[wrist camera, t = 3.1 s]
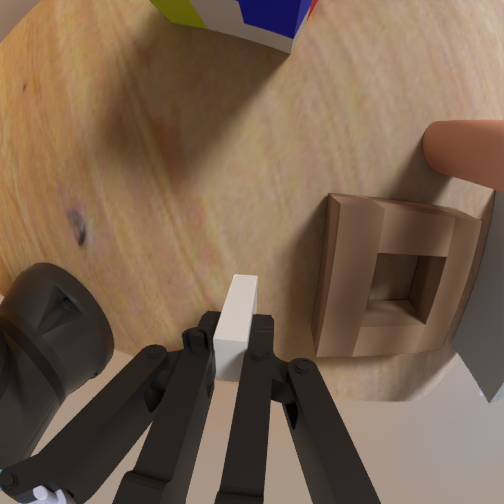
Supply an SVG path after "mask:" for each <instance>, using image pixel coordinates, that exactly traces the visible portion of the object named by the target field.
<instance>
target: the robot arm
mask: <svg viewBox="0 0 504 504" xmlns="http://www.w3.org/2000/svg"><path fill="white" fill-rule="evenodd" d="M257 280H258V276H253V275H237V274H234V277H233V280H232V283H231V286H230V289H229V292H228V295H227V298H226V301H225V304H224V307H223V310H222V312H215V311H207V312H206V313H205V314H204V315H202V318H201V320H200V322H199V325H198V327H194V328H190V329H187V330H185V331H184V332H183V334H182V338H183V344H184V349H183V350H180V351H173V352H167V350H166V348H165V347H163V346H161V345H157V344H155V345H149V346H146V347H145V348H143V349H142V350H141V351H140V352H139V353H138V354H137V355H136V356H135V357H134V358H133V359H132V360H131V361H130V362H129V363H128V364H127V365H126V366H125V367H124V368H123V369H122V370H121V371H120V372H119V373H118V374H117V375H116V376H115V377H114V378H113V379H112V380H111V381H110V382H109V383H108V384H107V385H106V386H105V387H104V388H103V389H102V390H101V391H100V392H99V393H98V394H97V395H96V396H95V397H94V398H93V399H92V400H91V401H90V402H89V403H88V404H87V405H86V406H85V407H84V408H83V409H82V410H81V411H80V412H79V413H78V414H77V415H76V416H75V417H74V418H73V419H72V420H71V421H70V422H69V423H68V424H67V425H66V426H65V427H64V428H63V429H62V430H61V431H60V432H59V433H58V434H57V435H56V436H55V437H54V438H53V439H52V440H51V441H50V442H49V443H48V444H47V445H46V446H45V447H44V448H43V449H42V450H41V451H40V452H39V453H38V454H36V455H34V456H32V457H30V456H31V454H32V452H33V451H34V449H35V447H36V446H37V444H38V442H39V441H40V439H41V437H42V435H43V434H44V432H45V430H46V429H47V427H48V426H49V424H50V422H51V421H52V419H53V417H54V416H55V414H56V413H57V411H58V410H59V408H60V406H61V405H62V403H63V402H64V400H65V399H66V398H67V396H68V395H69V394H71V393H72V392H74V391H75V390H76V389H78V388H80V387H81V386H82V385H83V384H85V383H86V382H87V381H88V380H89V379H92V378H95V377H96V376H98V375H99V374H100V373H101V372H102V371H103V370H104V369H105V367H106V365H107V364H108V362H109V361H110V359H111V358H112V355H113V351H114V340H113V335H112V331H111V328H110V325H109V323H108V321H107V318H106V316H105V314H104V313H103V311H102V309H101V308H100V306H99V304H98V303H97V302H96V300H95V299H94V297H93V296H92V295H91V294H90V292H89V291H88V290H87V289H86V288H85V287H84V286H83V285H82V284H81V283H80V282H79V281H78V280H77V279H76V278H75V277H74V276H72V275H71V274H70V273H68V272H67V271H65V270H64V269H62V268H60V267H58V266H56V265H53V264H50V263H36V264H34V265H32V266H31V267H29V268H28V269H26V270H25V271H23V272H22V273H21V274H20V275H19V276H18V277H17V278H16V280H15V281H14V283H13V285H12V286H11V288H10V289H9V291H8V292H7V294H6V296H5V297H4V299H3V301H2V302H1V304H0V491H3V492H4V493H6V494H7V495H8V496H10V497H11V498H13V499H14V500H16V501H17V502H18V503H19V504H84V503H85V502H86V501H87V500H89V499H90V498H91V497H92V496H93V495H94V494H95V492H97V490H98V489H99V488H100V487H101V485H102V484H103V483H104V482H105V480H106V479H107V478H108V477H109V475H110V474H111V473H112V472H113V470H114V469H115V468H116V467H117V466H118V464H119V463H120V462H121V461H122V459H123V458H124V457H125V455H126V454H127V453H128V452H129V451H130V449H131V448H132V447H133V445H134V444H135V443H136V441H137V440H138V439H139V438H140V436H141V435H142V434H143V433H144V431H145V430H146V429H147V428H148V426H149V425H150V424H151V422H152V421H153V422H152V425H151V427H150V430H149V432H148V435H147V437H146V440H145V442H144V445H143V447H142V450H141V452H140V455H139V457H138V460H137V462H136V465H135V467H134V469H133V470H131V471H128V472H126V473H125V475H124V476H123V478H122V480H121V483H120V485H119V488H118V490H117V493H116V496H115V498H114V501H113V503H112V504H185V502H186V497H187V493H188V489H189V485H190V481H191V477H192V473H193V469H194V465H195V461H196V457H197V454H198V450H199V446H200V442H201V438H202V434H203V430H204V426H205V422H206V418H207V414H208V410H209V406H210V403H211V399H212V395H213V391H214V378H215V374H216V379H218V380H226V381H236V382H239V386H238V392H237V397H236V403H235V408H234V414H233V420H232V425H231V430H230V436H229V442H228V447H227V453H226V458H225V463H224V468H223V474H222V479H221V484H220V489H219V491H218V493H217V495H216V499H215V503H214V504H263V501H264V482H265V472H266V460H267V447H268V432H269V418H270V403H271V400H273V401H277V402H280V403H282V406H283V410H284V413H285V416H286V420H287V423H288V426H289V429H290V433H291V436H292V439H293V442H294V445H295V449H296V452H297V455H298V458H299V462H300V464H301V468H302V471H303V474H304V477H305V480H306V484H307V487H308V490H309V493H310V496H311V499H312V502H313V504H381V502H380V500H379V498H378V496H377V494H376V491H375V489H374V487H373V485H372V483H371V480H370V478H369V476H368V474H367V472H366V470H365V467H364V466H363V463H362V461H361V459H360V457H359V455H358V453H357V450H356V448H355V446H354V444H353V442H352V440H351V437H350V435H349V433H348V431H347V429H346V427H345V425H344V423H343V420H342V418H341V416H340V414H339V412H338V410H337V408H336V406H335V403H334V401H333V399H332V397H331V395H330V393H329V391H328V389H327V386H326V384H325V382H324V380H323V378H322V376H321V374H320V372H319V370H318V368H317V366H316V364H315V363H314V362H313V361H311V360H309V359H306V358H297V359H293V360H292V361H291V362H285V361H283V360H280V359H279V358H277V357H276V356H275V354H274V353H273V339H274V319H273V318H272V316H271V315H261V314H256V306H257Z"/></svg>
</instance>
